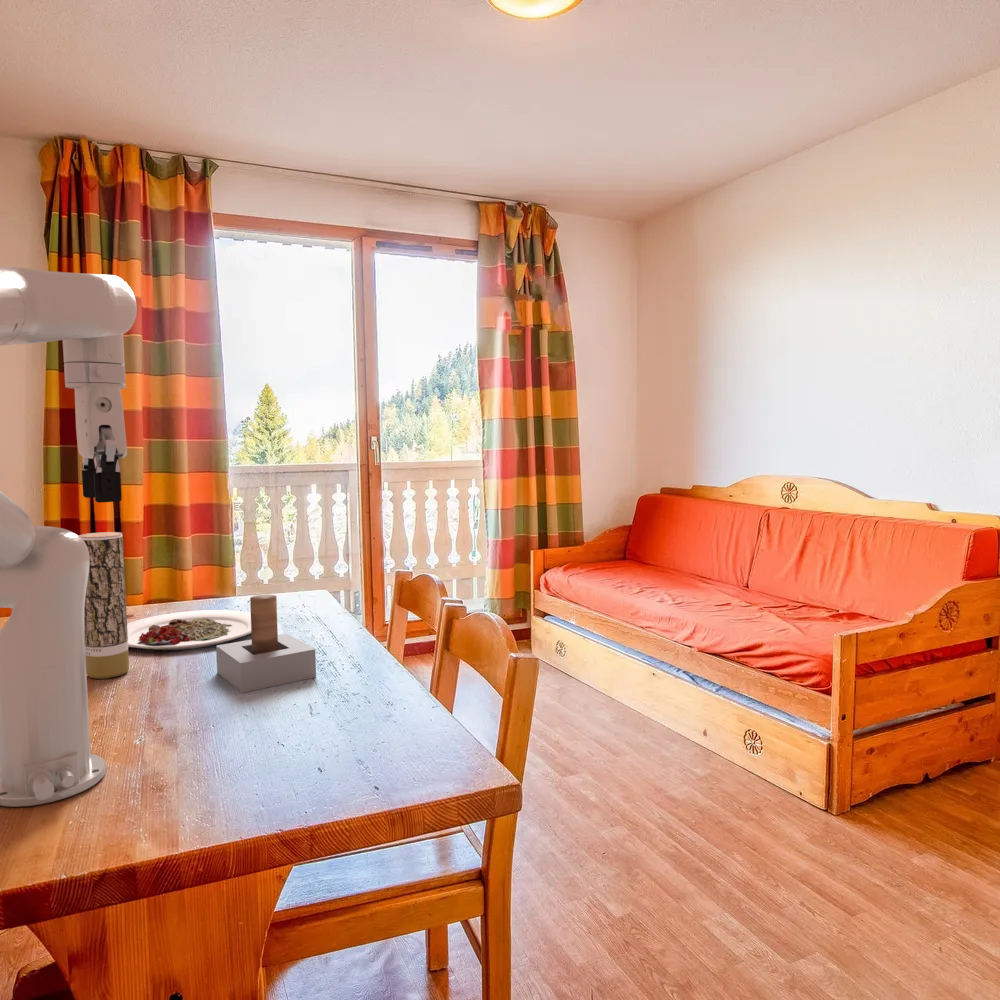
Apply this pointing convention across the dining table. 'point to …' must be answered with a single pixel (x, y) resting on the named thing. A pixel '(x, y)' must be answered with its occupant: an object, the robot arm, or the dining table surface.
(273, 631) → the peg
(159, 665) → the dining table surface
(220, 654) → the socket
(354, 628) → the dining table surface
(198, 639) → the plated food
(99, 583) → the paper tube
